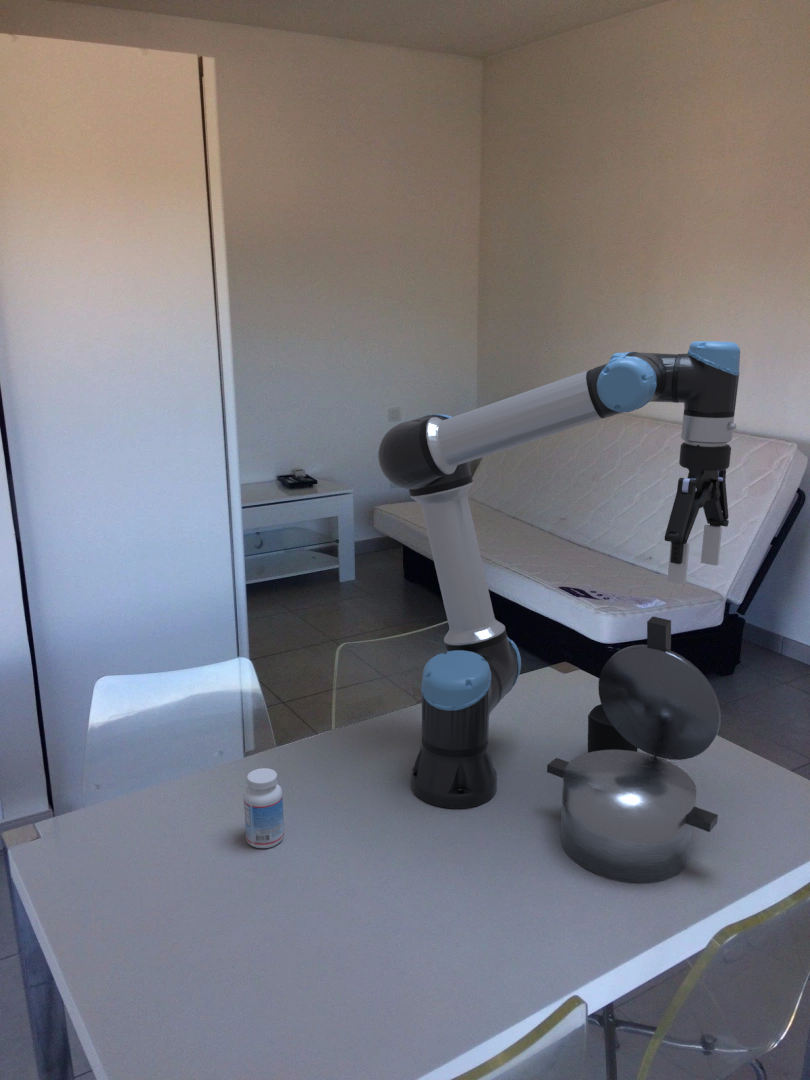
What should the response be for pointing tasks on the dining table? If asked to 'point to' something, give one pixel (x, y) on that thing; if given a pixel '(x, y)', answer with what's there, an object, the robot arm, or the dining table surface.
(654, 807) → the cooking pot
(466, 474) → the robot arm
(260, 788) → the pill bottle
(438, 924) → the dining table surface
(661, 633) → the pot lid
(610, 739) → the pen holder
